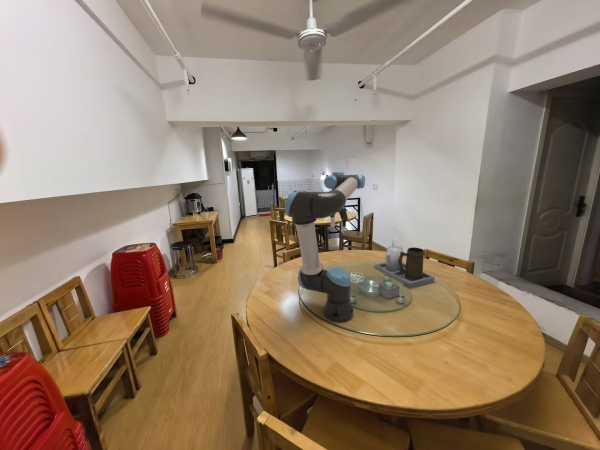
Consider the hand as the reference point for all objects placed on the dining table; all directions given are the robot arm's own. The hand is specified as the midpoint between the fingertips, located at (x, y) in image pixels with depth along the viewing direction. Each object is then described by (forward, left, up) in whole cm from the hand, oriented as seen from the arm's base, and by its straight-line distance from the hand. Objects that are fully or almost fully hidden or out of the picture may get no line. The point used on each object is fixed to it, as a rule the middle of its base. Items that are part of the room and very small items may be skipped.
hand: (337, 229), depth 151 cm
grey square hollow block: (-31, -16, -35) cm, 49 cm away
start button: (-31, -16, -33) cm, 48 cm away
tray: (-15, -42, -35) cm, 57 cm away
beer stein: (-22, -42, -34) cm, 58 cm away
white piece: (-7, -41, -33) cm, 53 cm away
